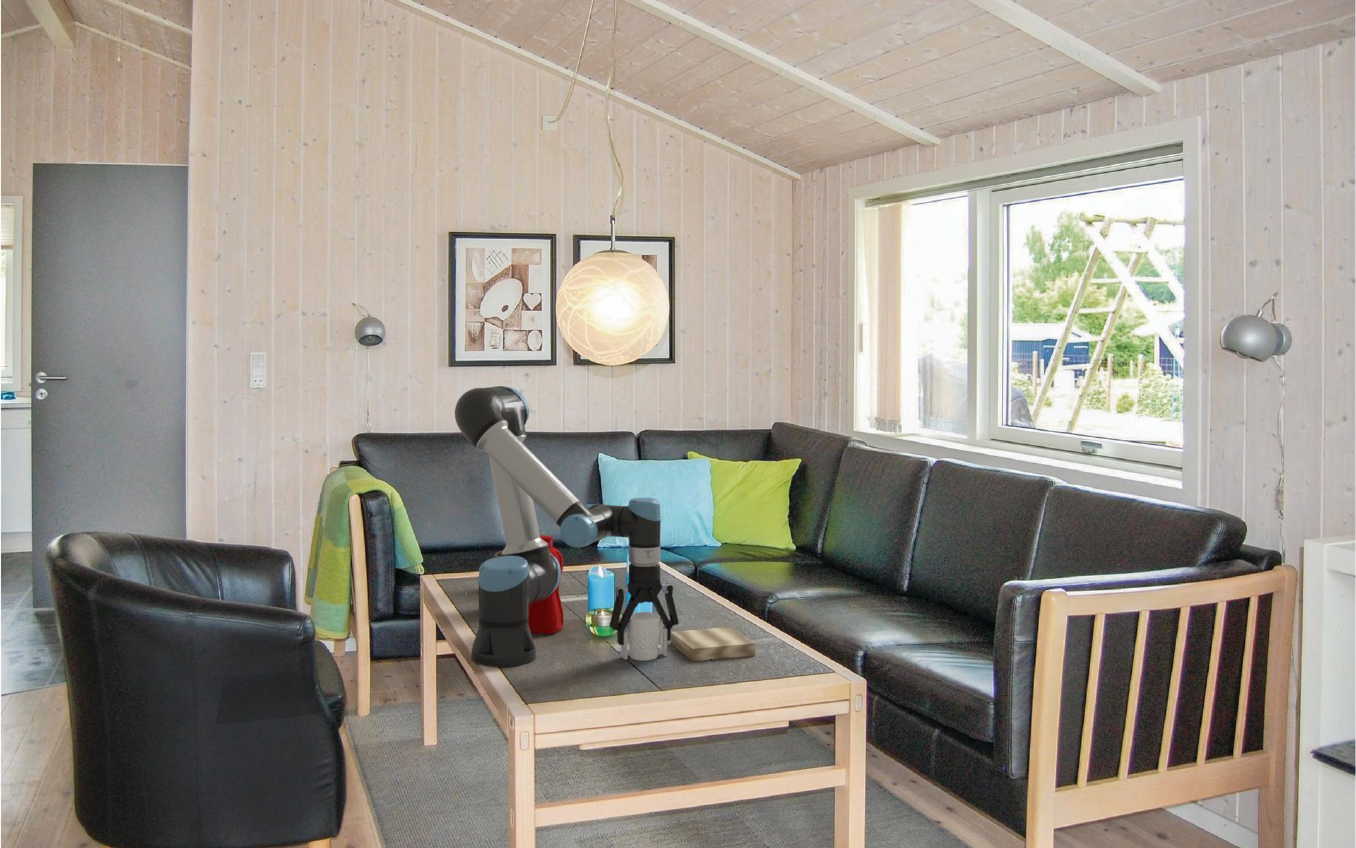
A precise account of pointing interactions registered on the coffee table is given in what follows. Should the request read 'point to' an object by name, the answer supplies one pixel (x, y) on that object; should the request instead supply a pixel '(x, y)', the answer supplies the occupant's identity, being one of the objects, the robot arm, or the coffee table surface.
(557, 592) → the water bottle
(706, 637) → the wooden base
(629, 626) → the white cup
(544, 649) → the coffee table surface
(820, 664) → the coffee table surface
